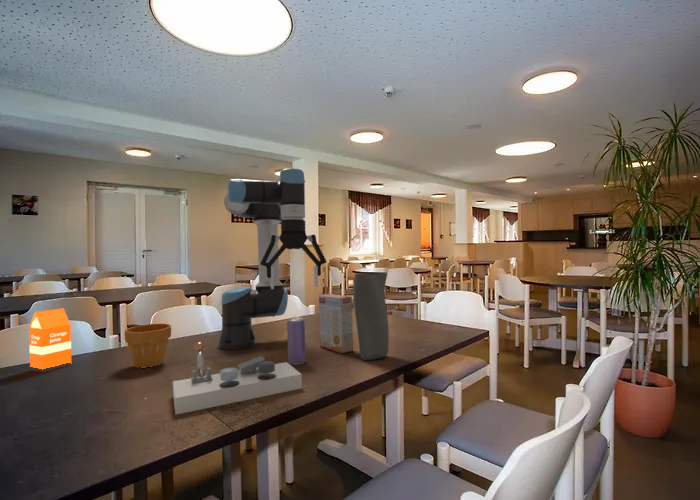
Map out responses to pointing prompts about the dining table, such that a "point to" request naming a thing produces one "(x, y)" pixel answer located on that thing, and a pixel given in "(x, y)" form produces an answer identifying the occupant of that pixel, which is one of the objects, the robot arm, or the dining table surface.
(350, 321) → the cracker box
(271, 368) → the button
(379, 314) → the vase
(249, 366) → the block
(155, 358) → the flower pot
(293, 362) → the beverage can
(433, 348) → the dining table surface
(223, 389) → the console
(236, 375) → the button
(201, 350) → the lever
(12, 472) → the dining table surface
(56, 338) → the orange juice
